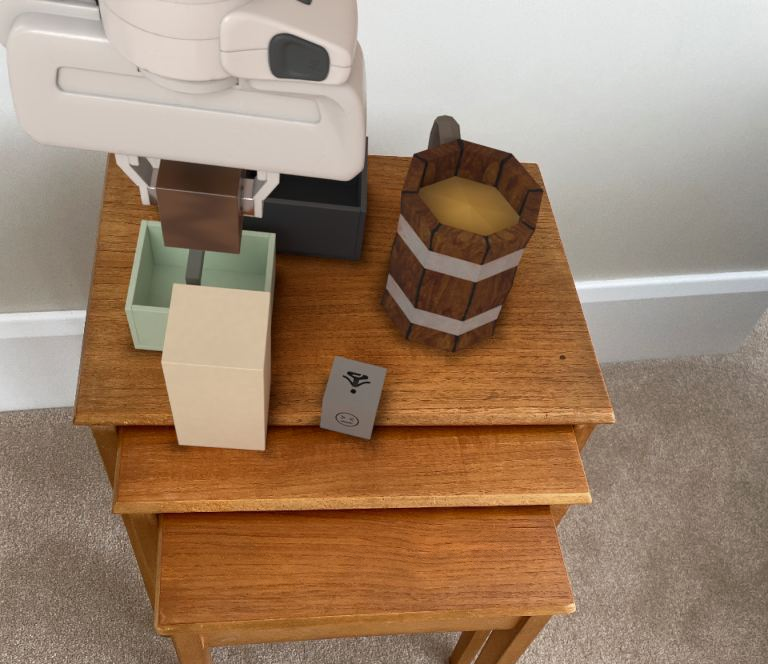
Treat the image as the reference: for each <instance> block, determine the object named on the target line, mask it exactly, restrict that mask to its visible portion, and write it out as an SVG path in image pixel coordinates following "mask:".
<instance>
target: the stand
mask: <svg viewBox="0 0 768 664" xmlns="http://www.w3.org/2000/svg"><path fill="white" fill-rule="evenodd" d="M271 335H272V321H271V293H270V292H262V291H251V290H241V289H230V288H219V287H208V286H197V285H186V284H176V283H174V284H173V290H172V296H171V303H170V309H169V315H168V322H167V328H166V334H165V341H164V347H163V351H162V355H161V359H160V360H161V367H162V372H163V376H164V381H165V386H166V391H167V395H168V400H169V405H170V410H171V414H172V419H173V423H174V428H175V434H176V439H177V443H178V445H179V446H192V447H203V448H204V447H206V448H219V449H220V448H221V449H233V450H235V449H237V450H249V451H252V450H253V451H264V452H265V451H266V445H267V433H268V419H269V408H270V407H269V406H270V398H271V397H270V395H271V386H272V385H271V383H272V336H271Z"/></svg>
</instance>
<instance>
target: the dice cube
mask: <svg viewBox="0 0 768 664" xmlns="http://www.w3.org/2000/svg"><path fill="white" fill-rule="evenodd" d="M387 371H388V368H386V367H382V366H379V365H375V364H370V363H366V362H362V361H359V360H354V359H351V358H347V357H342V356H338V355H334V359H333V363H332V366H331V370H330V373H329V377H328V380H327V383H326V387H325V390H324V393H323V397H322V404H321V413H320V423H319V428H320V429H325V430H329V431H333V432H337V433H341V434H345V435H349V436H354V437H357V438H361V439H364V440H371V437H372V434H373V429H374V425H375V422H376V417H377V414H378V410H379V405H380V403H381V402H380V401H381V397H382V393H383V390H384V384H385V380H386V376H387Z"/></svg>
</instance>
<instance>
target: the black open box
mask: <svg viewBox="0 0 768 664" xmlns="http://www.w3.org/2000/svg"><path fill="white" fill-rule="evenodd" d="M368 163H369V136H367V135H366V148H365V162H364V168H363V170H362V171H361V172H360V173H359V174H358V175H356V176H355V177H354V178H352V179H351V180H349V181H340V180H333V179H324V178H316V177H308V176H299V175H291V174H282V173H280V180H279V184H278V185H277V186H276V187H275V188H274V190H273V191H272V192H271V193H270V194H269V195H268V196H267V197H266V199H265V200H264V206H263V215H262V218H258V217H250V216H244V221H243V229H242V230H246V231H256V232H266V233H275V234H276V254H285V255H295V256H302V257H303V256H305V257H315V258H325V259H334V260H335V259H336V260H344V261H345V260H346V261H355V262H360V261H361V254H362V247H363V240H364V234H365V233H364V232H365V226H366V219H367V213H368V211H367V210H368V209H367V208H368V207H367V206H368V166H369V164H368ZM256 176H257V170H249V169H245V179H254V178H255V177H256Z"/></svg>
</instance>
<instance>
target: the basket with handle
mask: <svg viewBox="0 0 768 664" xmlns="http://www.w3.org/2000/svg"><path fill="white" fill-rule="evenodd" d="M136 242H137V243H136V248H135V254H134V259H133V263H132V264H133V265H132V269H131V274H130V280H129V285H128V290H127V296H126V300H125V306H124V311H125V315H126V318H127V319H126V320H127V322H128V327H129V331H130V334H131V338H132V343H133V346H134V349H136V350H146V351H158V352H163V347H164V341H165V334H166V328H167V322H168V315H169V309H170V303H171V296H172V290H173V284H174V283H176V284H186V285H197V286H208V287H219V288H230V289H241V290H251V291H262V292H270V293H271V322H272V319H273V307H274V298H275V296H274V295H275V287H276V286H275V284H276V275H277V274H276V273H277V272H276V271H277V269H276V267H277V265H276V264H277V263H276V260H277V259H276V257H277V256H276V255H277V253H276V234H275V233H266V232H256V231H246V230H242V238H241V247H240V254H231V253H221V252H212V251H202V250H193V249H183V248H174V247H165V246H164V241H163V235H162V228H161V222H160V221H159V220H147V219H141V221H140V227H139V232H138V237H137V241H136Z"/></svg>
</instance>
